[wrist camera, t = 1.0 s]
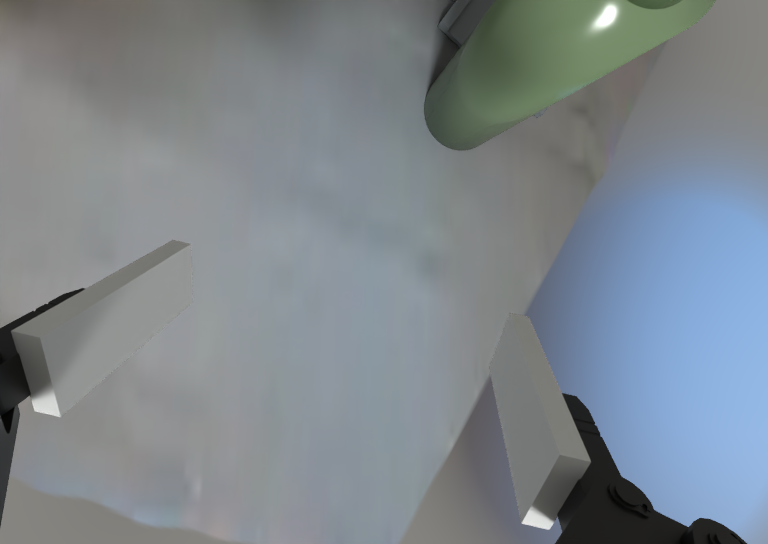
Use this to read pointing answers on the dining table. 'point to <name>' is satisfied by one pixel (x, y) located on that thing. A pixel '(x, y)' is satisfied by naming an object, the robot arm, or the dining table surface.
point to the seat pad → (466, 22)
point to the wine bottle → (542, 59)
